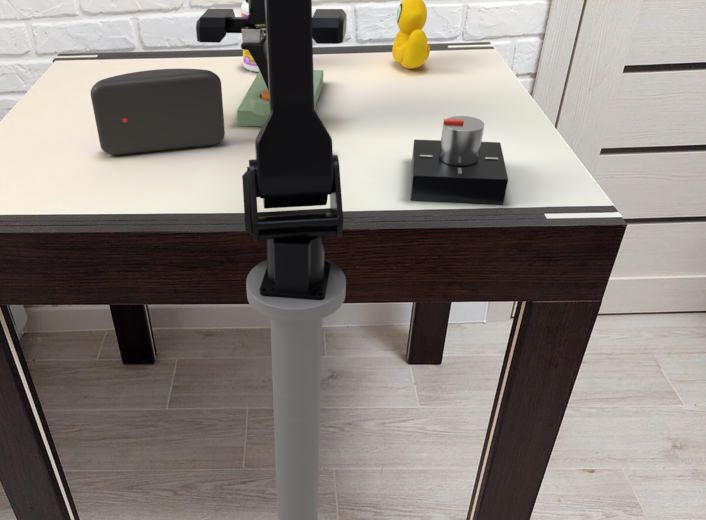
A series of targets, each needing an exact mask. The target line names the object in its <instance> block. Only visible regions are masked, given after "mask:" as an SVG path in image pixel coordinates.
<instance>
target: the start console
mask: <svg viewBox="0 0 706 520" xmlns="http://www.w3.org/2000/svg"><path fill="white" fill-rule="evenodd" d="M255 76H256V77H255V78H254V79H253V81H252V83H251V85H250V86H249V88H248V90H247V92H246V94H245V96H244V97H243V99H242V100H241V103H240V104H239V106H238V108H237V109H236V116H237V126H238V127H262V126H263V124H264V122H265V119H266V117H267V115H268V113H269V101H268V100H264V99H262V93H263V92H264V91H267V90H268V88H267V86H266V84H265V81H264V79H263V77H262V74H261V72H260V71H259V72H257V74H256V75H255ZM313 84H314V109H315V110H316V107H317V104H318V101H319V99H320V95H321V92H322V89H323V86H324V69H313Z"/></svg>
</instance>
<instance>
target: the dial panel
mask: <svg viewBox="0 0 706 520" xmlns="http://www.w3.org/2000/svg"><path fill="white" fill-rule="evenodd" d="M440 143H441V139H439V140H437V139H414V140H413V145H412V146H413V147H412V154H411V155H412V157H411V170H410V171H411V173H410V201H421V202H423V201H424V202H441V203H442V202H443V203H444V202H445V203H465V204H483V205H484V204H485V205H504V201H505V199H506V192H507V186H508V184H509V183H508V182H509V177H508V172H507V167H506V163H505V159H504V154H503V148H502V144H501V142H500V141H499V142H498V141H482V142H481V148H480V154H479V159H478V161H477V162H476V163H474V164H471V165H466V166H456V165H450V164H447V163H444V162H443V161H441V160H440V159H439V151H440Z"/></svg>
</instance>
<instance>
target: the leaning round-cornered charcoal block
mask: <svg viewBox="0 0 706 520" xmlns="http://www.w3.org/2000/svg"><path fill="white" fill-rule="evenodd" d="M90 99H91V104H92V110H93V115H94V120H95V125H96V131H97V135H98V139H99V146H100V149H101V150H102V151H103V153H105V154H106V155H107V154H108V155H111V156H121V155H132V154H139V153H140V154H141V153H150V152H160V151H169V150H180V149H187V148H189V149H190V148H199V147H207V146H209V147H210V146H215V145H217V144H219V143H221V142H222V141H223V140H224V138H225V136H226V131H225V117H224V115H225V114H224V105H223V103H224V102H223V90H222V80H221V78H220V77H219V75H218V74H216V72H213V71H212V70H208V69H203V68H202V69H200V68H161V69H149V70H139V71H134V72H127V73H123V74H118V75H114V76H110V77H107V78H102V79H100V80H98V81H97V82H95V84H94V85H93V86H91V89H90Z"/></svg>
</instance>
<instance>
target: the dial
mask: <svg viewBox="0 0 706 520" xmlns="http://www.w3.org/2000/svg"><path fill="white" fill-rule="evenodd" d="M484 128H485V122H484V121H483V120H482V119H479V118H477V117H475V116H467V115H455V116H450V117H447V118H443V122H442V128H441V137H440V140H441V143H440V151H439V159H440V160H441V161H443V162H444V163H447V164H450V165H456V166H466V165H471V164H474V163H476V162H477V161H478V159H479V154H480V148H481V142H483V135H484V130H485V129H484Z"/></svg>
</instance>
